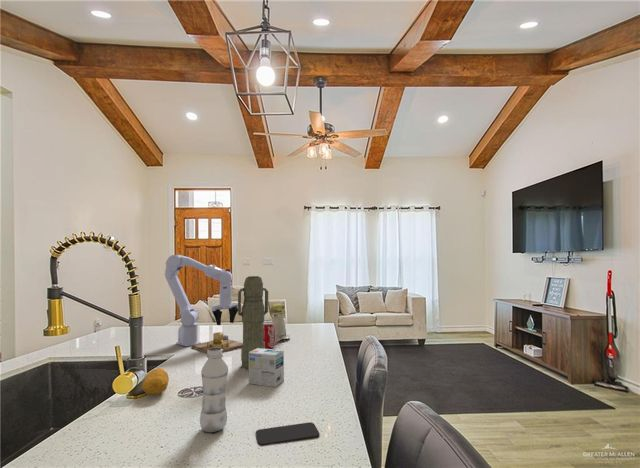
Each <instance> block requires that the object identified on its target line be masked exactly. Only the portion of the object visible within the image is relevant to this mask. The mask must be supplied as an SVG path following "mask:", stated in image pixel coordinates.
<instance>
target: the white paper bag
mask: <svg viewBox="0 0 640 468" xmlns="http://www.w3.org/2000/svg"><path fill="white" fill-rule="evenodd" d="M268 310H269V314H270V315H271V316H273V318H272V320H271V322H273V323H274V326H275V344H276V343H278V342H280V341H281V340H285V339H287V340H288V339H291V336H290V335H288V334H287V329H286V323H285V319H284V316H285V315H286V313H285V305H284V303H281V302H278V303H273V305H272V306H271V308H269V307H268Z"/></svg>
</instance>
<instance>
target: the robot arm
mask: <svg viewBox="0 0 640 468" xmlns="http://www.w3.org/2000/svg"><path fill="white" fill-rule="evenodd" d="M183 267H191V268H193V269H196V270H199V271H201V272H204V274H205V276H206V277H208V278H211V279H214V280H216V281H218V282H220V283H219V284H220V285H219V304H218V305H213V306H211V312H212V314H213V316H214V318H215V323H216V325H217V326H221V325H222V314H223V311H221V310H227V309H228V313H229V314H228V315H229V323H231V324H234V322H235V318H236V315H237V314H238V302H237V303H233V302H232V297H233V296H232V292H233V291H232V290H233V286H232V284H233V282H232V281H233V279H234V278H233V277H234V275H233V274H232V273H231V272H230V271H229V270H226V269H224V268H219V267H217V265H215V264H209V265H206V264H204V263H202V262H200V261H197V260H196V259H193V258H191V257H189V256H185V255H183V254H172V255H170V256H168V258H167V259H166V261H165V269H164V276H165V280H166V283H167V284H168V286H169V288H170V291H171V292H172V295H173V297H174V299H175V301H176V304H177V305H178V308H179V316H180V322H181V325H180V326H179V328H178V329H177V330H178V331H177V334H178V335H177V342H176V344H178V345H180V346H184V347H192V345H194V344H199V343H202V342H201V341H198V327H199V324H198V322H197V321H199V318H200V317H199V316H200V315H199V312H197V310H195V308H194V306H192V304H190V301H189V298H188V296H187V294H186V292H185V289H184V287H183V286H182V283H181V281H180V279H179V277H178V275H179V272H180V270H181V269H182V268H183Z"/></svg>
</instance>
